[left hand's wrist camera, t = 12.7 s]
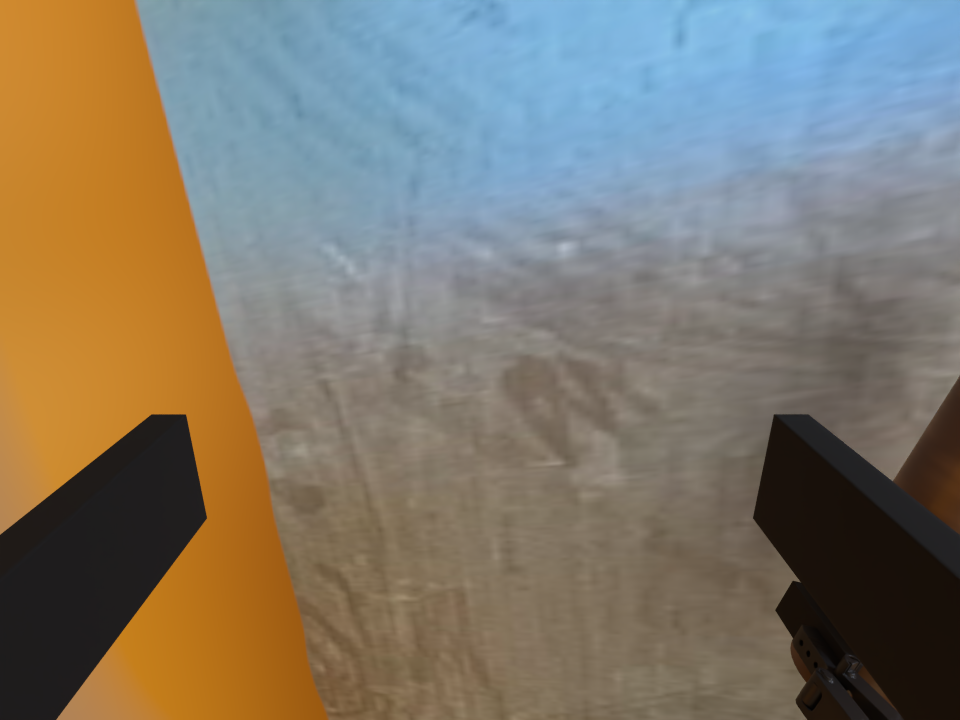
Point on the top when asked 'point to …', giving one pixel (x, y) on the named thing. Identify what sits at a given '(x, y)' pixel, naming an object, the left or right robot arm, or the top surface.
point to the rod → (928, 483)
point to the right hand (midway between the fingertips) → (843, 609)
